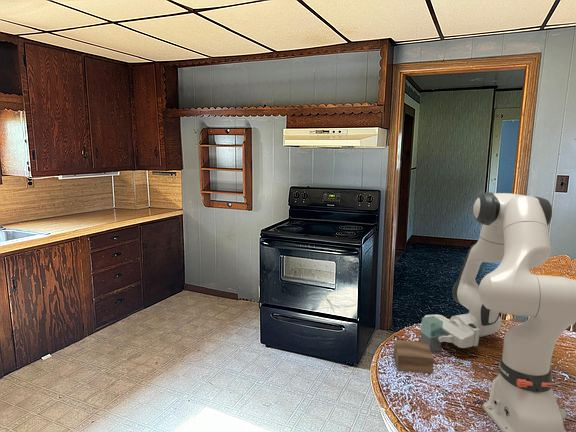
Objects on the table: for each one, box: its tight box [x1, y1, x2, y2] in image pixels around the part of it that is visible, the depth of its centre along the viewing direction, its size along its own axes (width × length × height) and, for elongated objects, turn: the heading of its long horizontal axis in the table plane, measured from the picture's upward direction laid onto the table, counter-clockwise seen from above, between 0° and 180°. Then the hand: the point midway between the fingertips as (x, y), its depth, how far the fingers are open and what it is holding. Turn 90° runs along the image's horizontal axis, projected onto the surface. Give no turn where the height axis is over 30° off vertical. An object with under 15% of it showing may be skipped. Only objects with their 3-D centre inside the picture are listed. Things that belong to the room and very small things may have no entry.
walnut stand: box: [393, 339, 435, 374], centre depth 135 cm, size 11×11×5 cm
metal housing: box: [419, 316, 443, 353], centre depth 144 cm, size 5×5×11 cm
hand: (429, 333), depth 144 cm, fingers open, 8 cm apart
